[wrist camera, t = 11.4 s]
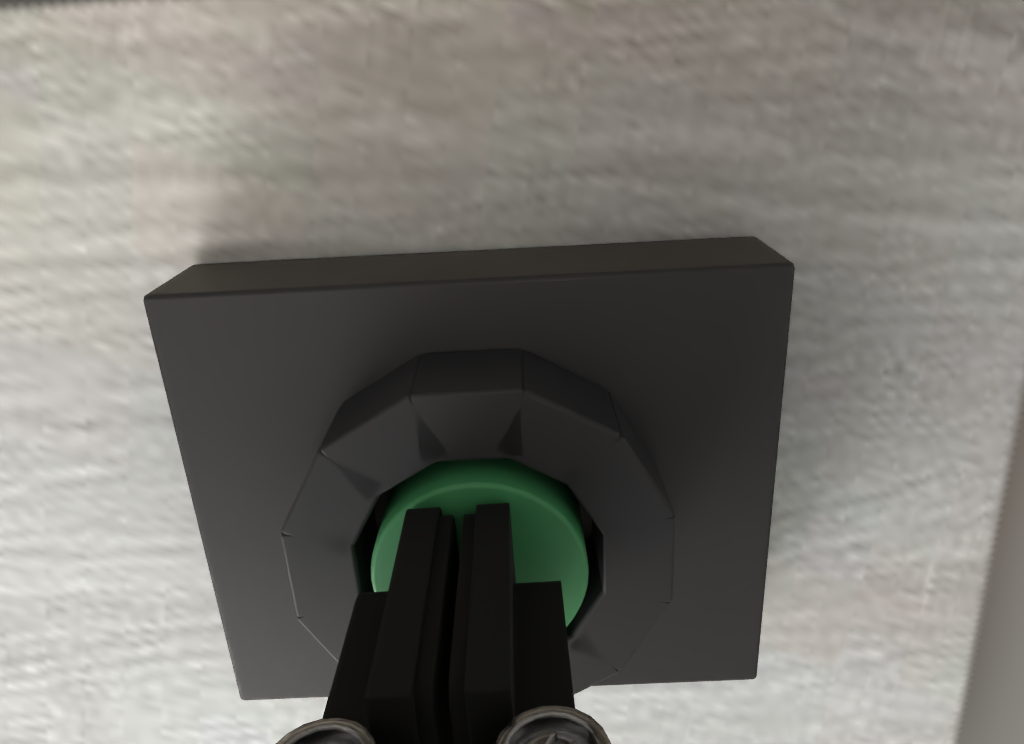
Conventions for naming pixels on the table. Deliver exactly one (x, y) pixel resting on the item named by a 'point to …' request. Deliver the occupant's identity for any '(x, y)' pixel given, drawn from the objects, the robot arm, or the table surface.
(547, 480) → the release button
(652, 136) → the table surface
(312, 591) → the box
